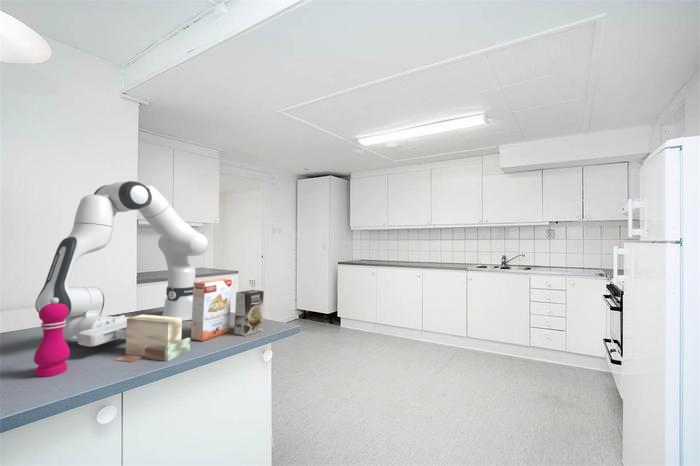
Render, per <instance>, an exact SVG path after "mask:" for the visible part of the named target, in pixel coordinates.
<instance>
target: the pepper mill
mask: <svg viewBox="0 0 700 466" xmlns="http://www.w3.org/2000/svg"><path fill="white" fill-rule="evenodd" d="M58 302H59V299H58V298H52V299H51V300H50V303H51V304H48V305H46V306H44V307H43V308H41V310H40V312H39V313H38V318H39V319H40V320H41V323H40V325H41V326H40V329H41V330H42V339H41V342H40V344H39V346H38V347H37V349H36V351H35V353H34V356H33V362H34V363H35V364H36V365H37V367H36V368H35V376H36V377H38V378H45V377H47V378H48V377H54V376H57V375H60V374H63V373H65V372H66V371H67V369H68V363H67V362H66V361H67V360H68V359H69V357H70V355H71V353H70V347H69V345H68V343H67V342H66V340H64V337H63V327H64V326H65V325H66V324H65V322H66V321H65V320H64V319H65V318H66V317H67V316H68V313H69V310H68V307H67V306H66V305H64V304H61V303H58Z"/></svg>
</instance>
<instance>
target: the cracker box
mask: <svg viewBox="0 0 700 466" xmlns="http://www.w3.org/2000/svg"><path fill="white" fill-rule="evenodd" d="M232 282H233V280H232V279H231V278H215V279H207V280H198V281H195V282H194V284H193V304H192V320H191V329H190V340H195V341H200V342H205V341H207V340H209V339H210V340H211V339H212V338H215V337H219V336H221V335H224V334H226V333H229V332H230V325H231V324H230V323H231V320H230V319H231V302H232V285H233V284H232Z"/></svg>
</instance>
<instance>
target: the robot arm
mask: <svg viewBox="0 0 700 466" xmlns="http://www.w3.org/2000/svg"><path fill="white" fill-rule="evenodd" d="M76 209H77V210H76V211H75V215H74V221H73V227H72V229H71V231H70V233H69V234H68V236H67V237H65V238H63V239H62V240H61V241H60V242H59V244H58V246H57V249H56V251H55V253H54V256H53V259H52V262H51V265H50V268H49V270H48V273H47V275H46V280H45V282H44V285H43V287H42V289H41V291H40V292H39V294H38V295H37V298H36V300H35V304H34V305H35V310H36V311H37V313H38V314H39V312H40V310H41V308H43V307H44V306H46V305H48V304H51V303H50V300H51V299H52V298H58V299H59V302H58V303H61V304H64V305H66V306H67V307H68V310H69V313H68V316H67V317H66V318H65V319H64V320H65V321H66V322H65V324H66V325H65V326H64V327H63V337H64V340H65V341H68V342H75V343H76V342H77V344H78V345H80V346H84V347H89V348H90V347H97V346H100V345H103V344H106V343H109V342H111V341H115V340H118V339H121V338H126V330H127V318H131V317H132V316H126V315H125V314H117V315H102V314H103V313H102V312H103V309H104V306H105V296H104V293H103V291H102V290H101V289H100V288H98V287H95V286H78V287H77V286H72V287H71V286H70V287H69V282H70V280H71V276H72V274H73V270H74V268H75V264H76V262H77V261H78V260H79V259H80V258H81V257H82V256H84V255H88V254H90V253H95V252H97V251H101V250H102V249H103V248H105V247H107V245H109V243H110V242H111V240H112V236H113V231H114V230H113V229H114V218H115V217H116V214H118V213H125V212H126V213H127V212H128V211H130V212H131V211H136V210H137V211H139V213H140V214H141V215H142V217H143V218H144V219H145V220H146V221H147V223H148V224H149V225H150V227H152V228H153V230H154V232H156V233H158V234H160V237H159V238H158V241H157V245H158V249H159V250H160V251H161V253H163V256H164V259H165V262H166V265H167V286H166V290H165V291H166V292H165V294H166V297H165V300H164V306H163V313H162V314H161V316H168V317H179V318H182V322H183V321H190V320H191V321H192V304H193V284H194V282H196V268H195V266H194V265H193V264H192V262H191V260H190V259H191V258H190V257H197V256H201V255H203V254H205V253H206V252H207V250H208V247H209V241H208V237H207V236H206V235H204V234H202V233H200V232H199V231H197V230H196V229H194V228H193V227H192V226H191V225H190V224H188V222H186V221H185V220H184V219H183V218H182V217H180V215H179V214H178V213H177V212H176V210H175V209H174V208H173V207H172V205H171V204H170V202H169V201H168V200H167V199H166V198H165V196H164V195H162V193H161V192H160V191H159V190H158V189H157V188H156V187H154V185H150V184H143V183H142V182H139V181H133V180H129V181H118V182H114V183H109V184H105V185H102V186H100V187H99V188H97V189H96V190H95V192H94V193H93V194H88V195H85V196H83V197H82V198H81V199H80V201H79V203H78V206H77V208H76Z"/></svg>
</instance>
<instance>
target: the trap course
mask: <svg viewBox="0 0 700 466" xmlns="http://www.w3.org/2000/svg"><path fill="white" fill-rule="evenodd" d="M189 351H191V337H186V338H183V339H181V341H179V342H176V343H174V344H172V345H169V346H167V347H165V349H157V348H148V347H147V348H145V356H141V355H133V354H125V355H122V356H119V357H117V358H114V361H118V362H126V363H134V362H136V361H138V360H141V359H142V358H144V359H145V360H146V359H147V360H154V361H162V362H164V361H165V362H169V361H171V360H172V359H174V358H177V357H178V356H181V355H183V354H186V353H187V352H189Z"/></svg>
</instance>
